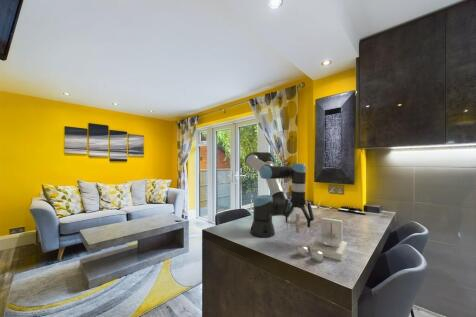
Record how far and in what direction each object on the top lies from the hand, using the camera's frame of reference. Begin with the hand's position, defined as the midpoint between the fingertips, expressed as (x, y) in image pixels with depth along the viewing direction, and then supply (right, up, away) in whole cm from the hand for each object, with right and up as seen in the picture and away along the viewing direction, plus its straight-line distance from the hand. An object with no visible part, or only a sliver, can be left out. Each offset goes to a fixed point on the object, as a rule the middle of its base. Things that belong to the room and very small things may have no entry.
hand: (297, 230), depth 112 cm
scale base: (+13, -6, -10) cm, 18 cm away
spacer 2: (+3, -6, -21) cm, 22 cm away
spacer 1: (-2, -6, -16) cm, 17 cm away
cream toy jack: (0, -1, 0) cm, 1 cm away
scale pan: (+12, -1, -11) cm, 17 cm away
